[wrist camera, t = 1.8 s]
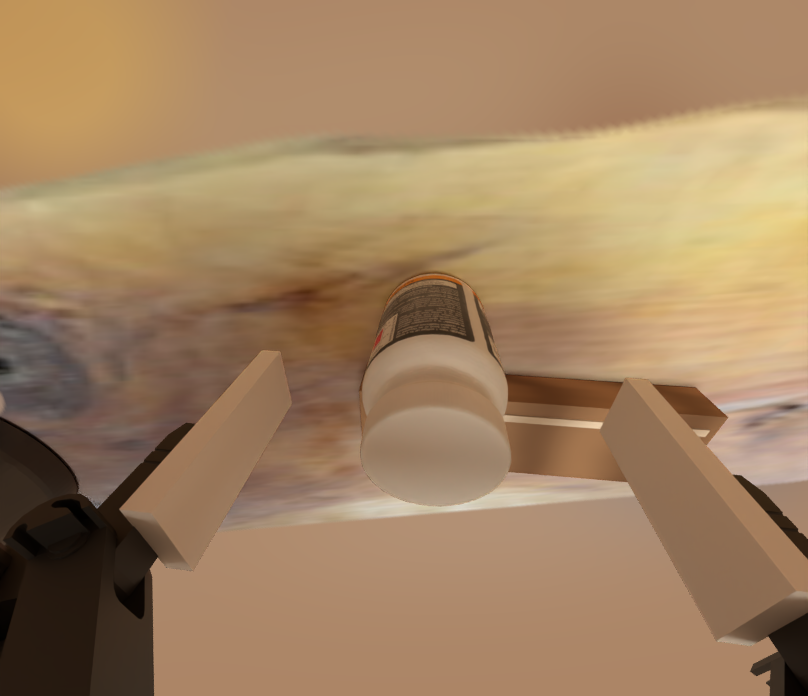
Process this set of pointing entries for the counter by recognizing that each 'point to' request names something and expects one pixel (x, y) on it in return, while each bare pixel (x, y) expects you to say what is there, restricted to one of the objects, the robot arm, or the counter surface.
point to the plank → (579, 424)
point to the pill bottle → (435, 397)
